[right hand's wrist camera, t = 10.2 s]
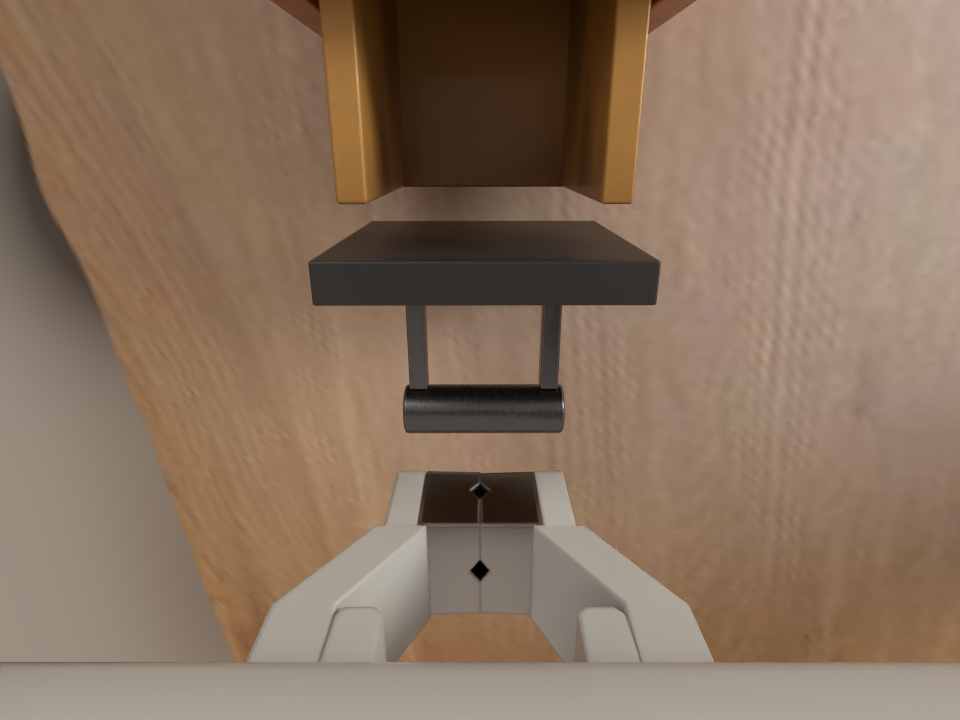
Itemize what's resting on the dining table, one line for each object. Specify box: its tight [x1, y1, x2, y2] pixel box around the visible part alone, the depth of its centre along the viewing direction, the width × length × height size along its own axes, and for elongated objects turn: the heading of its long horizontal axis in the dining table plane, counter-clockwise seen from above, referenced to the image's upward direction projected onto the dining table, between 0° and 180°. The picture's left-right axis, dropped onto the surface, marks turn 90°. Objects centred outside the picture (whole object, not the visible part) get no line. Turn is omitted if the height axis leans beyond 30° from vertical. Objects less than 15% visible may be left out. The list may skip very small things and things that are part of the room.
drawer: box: [309, 0, 661, 433], centre depth 17 cm, size 24×9×9 cm, turn 0°
